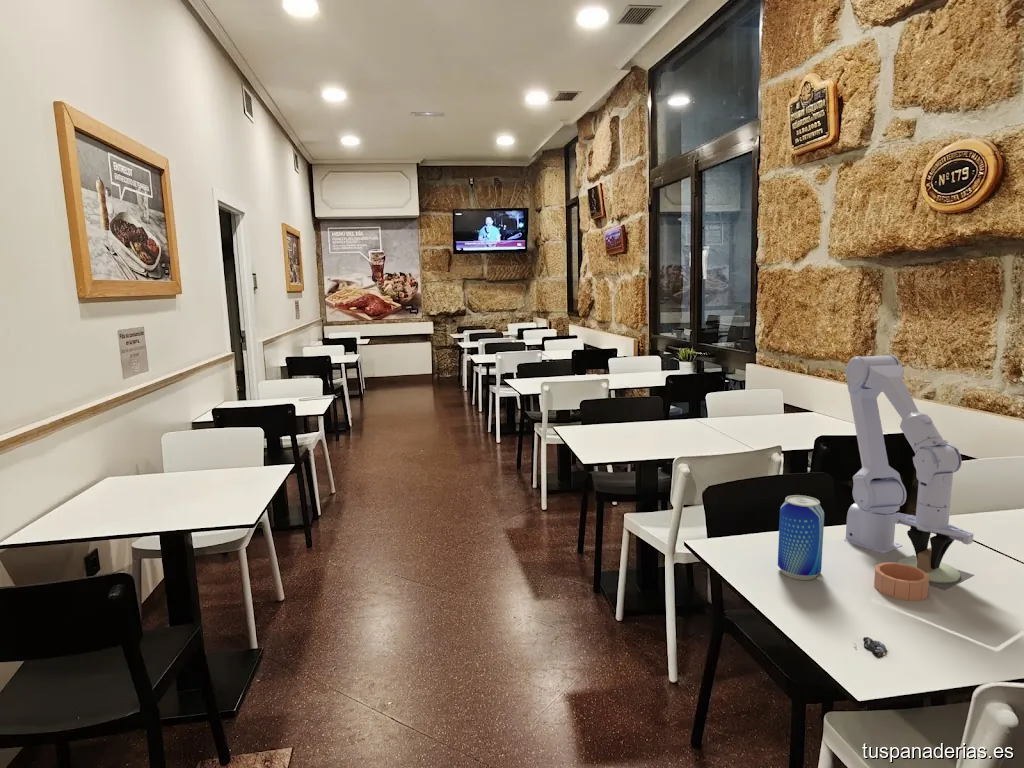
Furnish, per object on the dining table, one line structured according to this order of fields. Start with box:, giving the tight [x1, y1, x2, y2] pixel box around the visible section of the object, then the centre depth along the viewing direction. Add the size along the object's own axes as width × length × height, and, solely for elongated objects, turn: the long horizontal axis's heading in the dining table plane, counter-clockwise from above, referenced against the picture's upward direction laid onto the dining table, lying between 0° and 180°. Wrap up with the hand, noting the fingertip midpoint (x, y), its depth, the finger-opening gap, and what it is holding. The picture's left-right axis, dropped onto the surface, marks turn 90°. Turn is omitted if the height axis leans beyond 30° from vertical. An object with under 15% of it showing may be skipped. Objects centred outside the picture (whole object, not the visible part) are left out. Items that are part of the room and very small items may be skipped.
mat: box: [895, 554, 975, 591], centre depth 134 cm, size 12×12×1 cm
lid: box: [896, 547, 960, 583], centre depth 134 cm, size 11×11×4 cm
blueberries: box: [853, 636, 890, 661], centre depth 108 cm, size 7×8×2 cm
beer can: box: [777, 494, 825, 581], centre depth 135 cm, size 8×8×16 cm
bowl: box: [873, 561, 930, 601], centre depth 127 cm, size 9×9×4 cm
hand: (928, 565), depth 134 cm, fingers closed on lid, 2 cm apart
